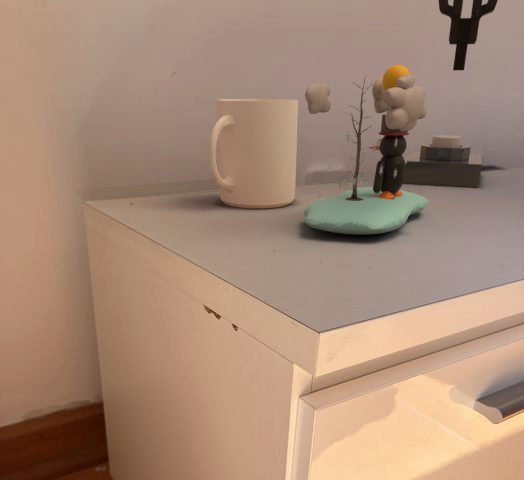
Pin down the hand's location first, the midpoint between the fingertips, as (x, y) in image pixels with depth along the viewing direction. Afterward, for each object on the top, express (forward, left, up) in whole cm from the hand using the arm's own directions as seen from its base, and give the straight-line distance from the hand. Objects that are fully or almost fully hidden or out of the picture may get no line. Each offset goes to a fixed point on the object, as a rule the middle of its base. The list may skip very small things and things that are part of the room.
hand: (458, 70), depth 83 cm
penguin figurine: (+6, +35, -16) cm, 39 cm away
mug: (+21, +30, -16) cm, 40 cm away
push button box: (0, 0, -16) cm, 16 cm away
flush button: (0, 0, -11) cm, 11 cm away
